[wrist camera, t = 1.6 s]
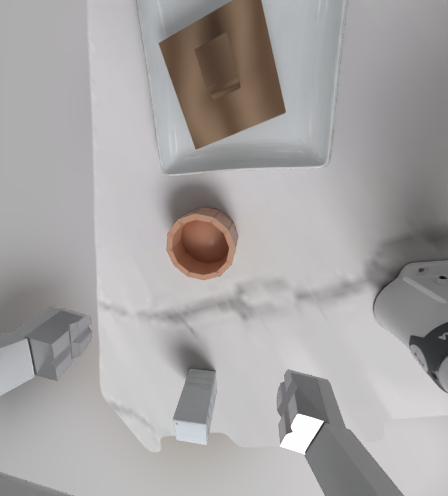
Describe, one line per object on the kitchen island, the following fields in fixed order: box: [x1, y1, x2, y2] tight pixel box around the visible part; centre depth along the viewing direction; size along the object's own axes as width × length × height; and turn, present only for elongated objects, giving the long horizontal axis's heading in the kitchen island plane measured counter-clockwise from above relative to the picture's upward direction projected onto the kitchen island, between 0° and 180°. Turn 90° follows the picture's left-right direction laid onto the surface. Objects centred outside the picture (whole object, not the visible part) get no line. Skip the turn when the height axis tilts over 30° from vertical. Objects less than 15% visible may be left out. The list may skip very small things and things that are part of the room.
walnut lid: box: [158, 0, 286, 150], centre depth 27 cm, size 14×14×6 cm
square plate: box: [136, 0, 348, 176], centre depth 31 cm, size 27×27×4 cm
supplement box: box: [173, 368, 217, 445], centre depth 52 cm, size 7×7×13 cm
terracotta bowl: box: [166, 207, 238, 280], centre depth 40 cm, size 12×12×6 cm
